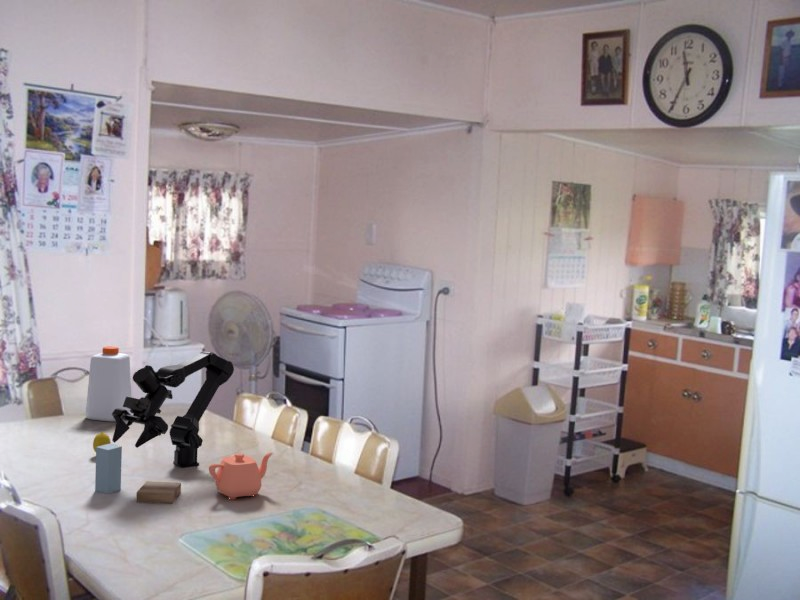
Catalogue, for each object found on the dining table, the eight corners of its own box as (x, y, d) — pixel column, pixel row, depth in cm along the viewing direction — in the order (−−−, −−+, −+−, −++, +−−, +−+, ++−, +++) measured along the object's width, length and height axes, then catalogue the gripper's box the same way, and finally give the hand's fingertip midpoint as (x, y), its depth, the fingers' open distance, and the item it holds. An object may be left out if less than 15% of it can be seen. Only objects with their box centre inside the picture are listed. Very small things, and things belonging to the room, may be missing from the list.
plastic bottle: (81, 419, 322) (82, 348, 319) (101, 411, 336) (102, 343, 334) (117, 423, 319) (118, 351, 317) (135, 414, 334) (137, 346, 332)
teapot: (280, 496, 245) (282, 456, 244) (215, 505, 234) (217, 463, 233) (263, 483, 256) (264, 444, 255) (200, 491, 245) (201, 451, 244)
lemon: (104, 458, 272) (105, 435, 271) (89, 457, 273) (89, 433, 272) (113, 454, 277) (114, 431, 277) (98, 452, 279) (99, 429, 278)
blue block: (108, 486, 245) (109, 443, 244) (120, 489, 243) (121, 446, 242) (95, 490, 241) (96, 447, 240) (107, 494, 238) (108, 450, 237)
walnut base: (146, 491, 243) (146, 481, 242) (180, 492, 243) (180, 482, 243) (136, 502, 233) (136, 492, 232) (172, 504, 233) (172, 493, 233)
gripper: (117, 382, 254) (87, 424, 245) (162, 390, 245) (133, 434, 236) (135, 403, 261) (107, 444, 252) (180, 412, 253) (153, 455, 244)
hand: (124, 444), depth 246 cm, fingers open, 9 cm apart
